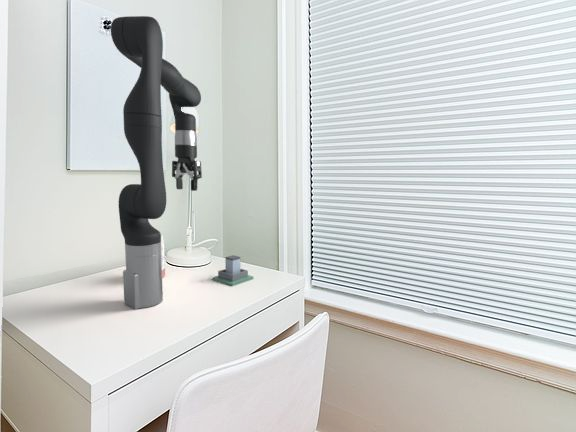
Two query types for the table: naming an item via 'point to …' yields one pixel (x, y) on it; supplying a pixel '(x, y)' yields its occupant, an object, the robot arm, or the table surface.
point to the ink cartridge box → (162, 257)
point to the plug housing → (232, 264)
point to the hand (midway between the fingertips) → (186, 190)
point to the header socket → (232, 277)
